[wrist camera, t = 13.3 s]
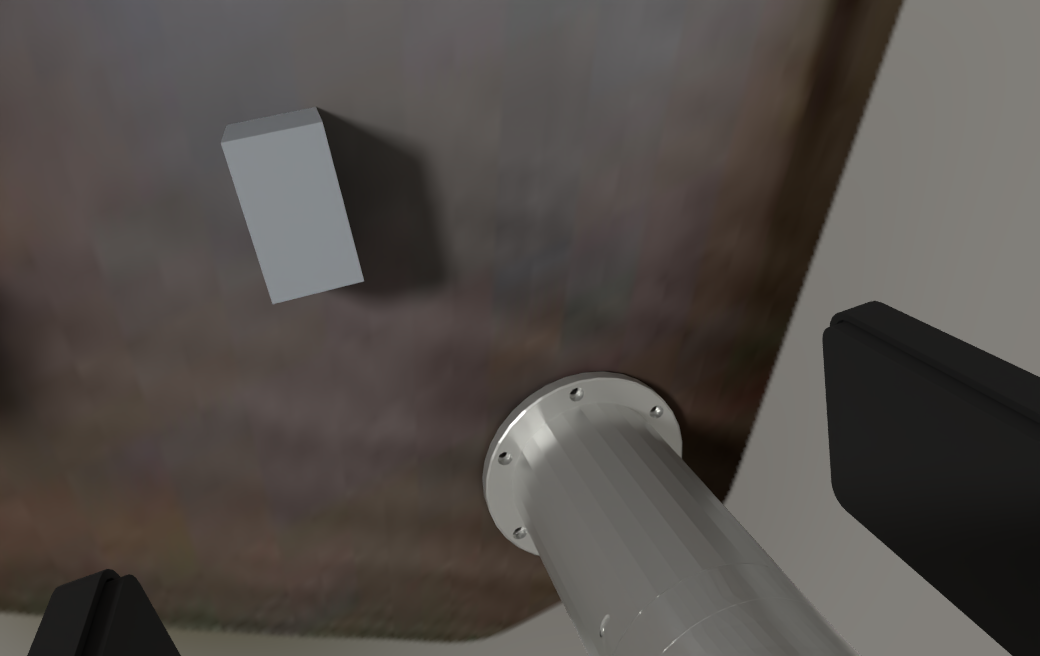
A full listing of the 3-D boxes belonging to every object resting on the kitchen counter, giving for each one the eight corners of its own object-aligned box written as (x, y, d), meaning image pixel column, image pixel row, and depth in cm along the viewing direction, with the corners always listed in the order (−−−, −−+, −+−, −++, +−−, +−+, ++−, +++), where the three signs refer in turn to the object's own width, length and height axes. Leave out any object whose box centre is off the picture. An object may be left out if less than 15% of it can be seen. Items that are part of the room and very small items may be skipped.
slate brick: (353, 248, 39) (364, 281, 34) (272, 268, 38) (272, 304, 33) (315, 106, 36) (322, 122, 31) (227, 124, 35) (220, 142, 30)
